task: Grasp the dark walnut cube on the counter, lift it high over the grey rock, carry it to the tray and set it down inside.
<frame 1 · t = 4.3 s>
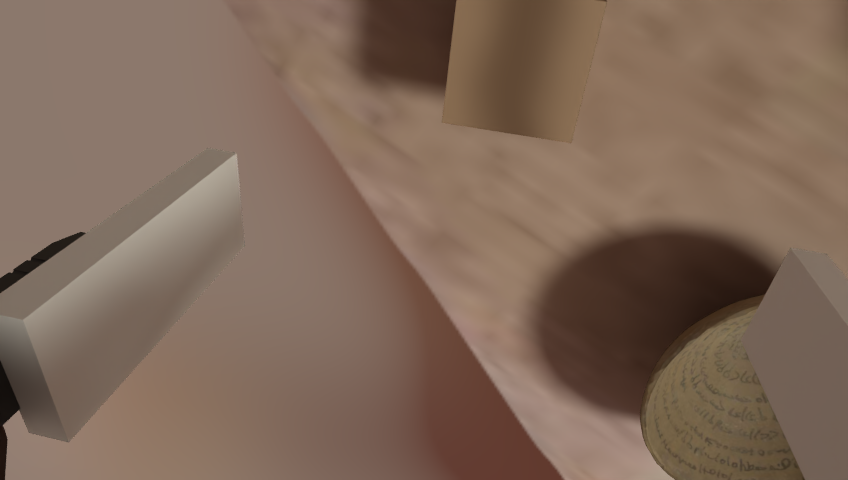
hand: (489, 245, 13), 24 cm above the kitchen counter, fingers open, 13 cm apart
bowl: (751, 337, 42), on the kitchen counter
walnut cube: (522, 39, 34), on the kitchen counter
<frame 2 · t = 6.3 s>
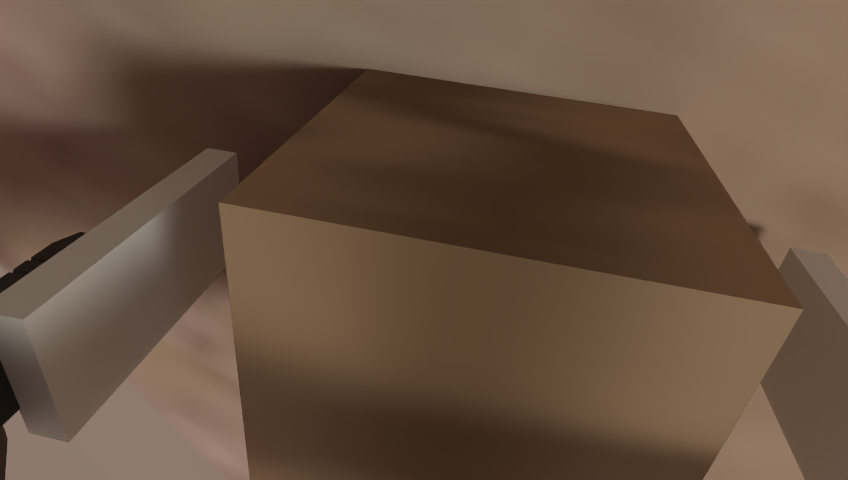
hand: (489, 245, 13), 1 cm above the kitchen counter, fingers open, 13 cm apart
walnut cube: (492, 223, 14), on the kitchen counter
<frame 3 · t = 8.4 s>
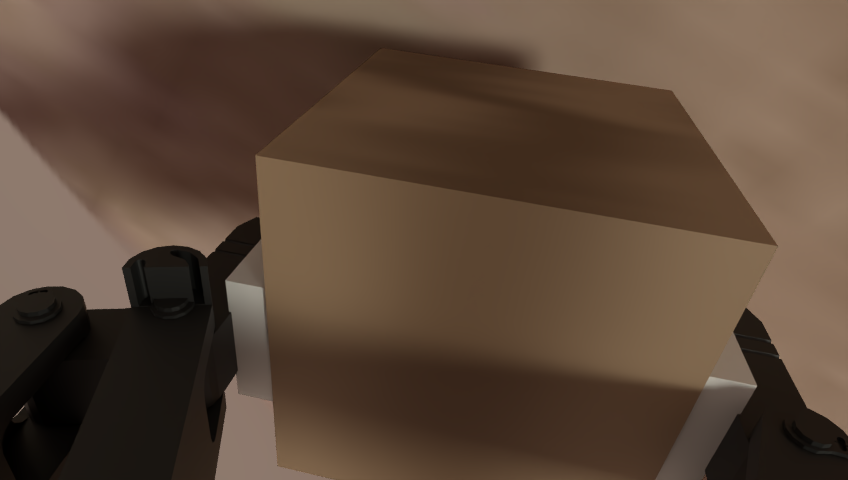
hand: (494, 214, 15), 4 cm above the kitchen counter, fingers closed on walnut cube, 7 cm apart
walnut cube: (497, 197, 15), point 3 cm above the kitchen counter, touching gripper
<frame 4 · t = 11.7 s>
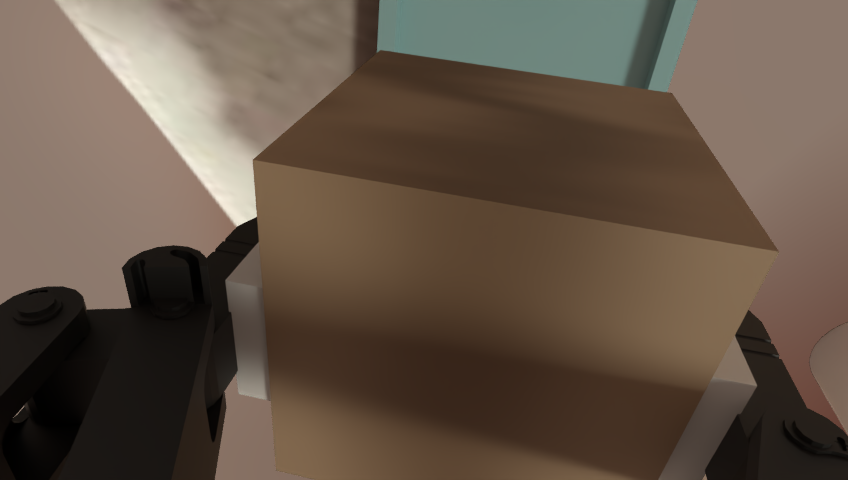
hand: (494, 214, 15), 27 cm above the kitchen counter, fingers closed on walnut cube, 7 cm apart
tray: (524, 32, 37), on the kitchen counter
walnut cube: (497, 199, 15), point 26 cm above the kitchen counter, touching gripper
when the fingers open (2 cm above the kitchen counter, at t = 15.4 s): walnut cube stays where it is, resting on tray.
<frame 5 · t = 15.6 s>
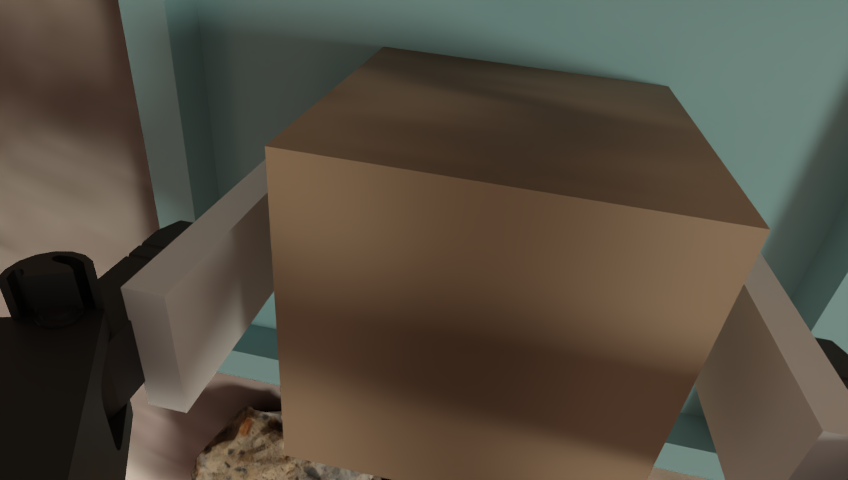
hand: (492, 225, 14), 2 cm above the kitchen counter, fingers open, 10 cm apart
rock: (332, 457, 25), on the kitchen counter
tray: (498, 189, 16), on the kitchen counter
walnut cube: (498, 192, 15), point 1 cm above the kitchen counter, touching tray
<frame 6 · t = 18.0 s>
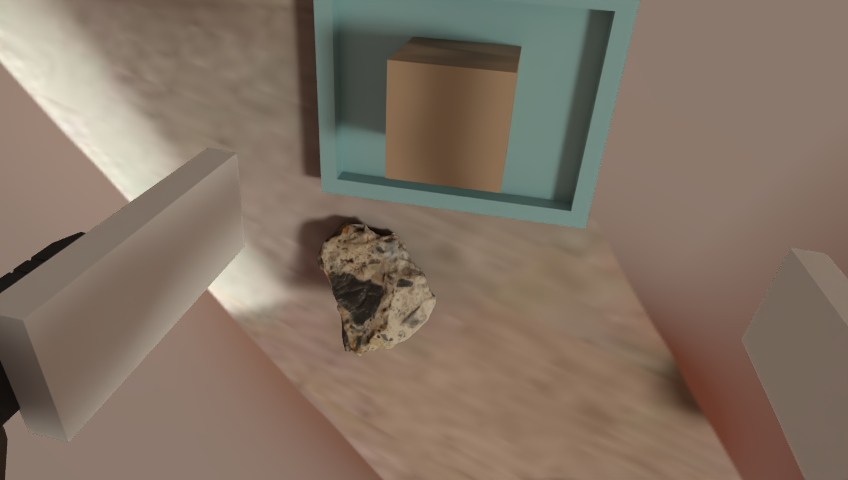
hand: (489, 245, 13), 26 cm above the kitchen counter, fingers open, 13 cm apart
rock: (385, 259, 46), on the kitchen counter
tray: (462, 96, 38), on the kitchen counter
walnut cube: (462, 95, 37), point 1 cm above the kitchen counter, touching tray
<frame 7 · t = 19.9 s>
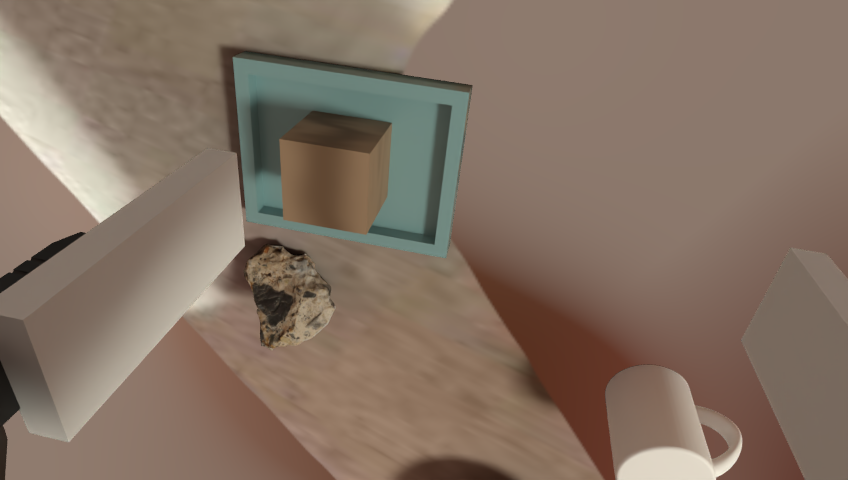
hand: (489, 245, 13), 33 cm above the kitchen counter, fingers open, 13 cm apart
mug: (664, 394, 57), on the kitchen counter
rock: (301, 273, 58), on the kitchen counter
tray: (353, 154, 49), on the kitchen counter
walnut cube: (351, 154, 48), point 1 cm above the kitchen counter, touching tray
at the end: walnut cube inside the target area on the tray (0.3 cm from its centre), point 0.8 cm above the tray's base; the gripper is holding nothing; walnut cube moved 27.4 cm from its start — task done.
